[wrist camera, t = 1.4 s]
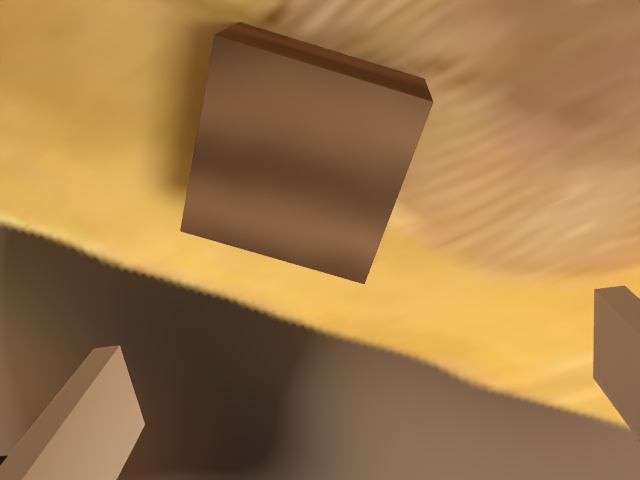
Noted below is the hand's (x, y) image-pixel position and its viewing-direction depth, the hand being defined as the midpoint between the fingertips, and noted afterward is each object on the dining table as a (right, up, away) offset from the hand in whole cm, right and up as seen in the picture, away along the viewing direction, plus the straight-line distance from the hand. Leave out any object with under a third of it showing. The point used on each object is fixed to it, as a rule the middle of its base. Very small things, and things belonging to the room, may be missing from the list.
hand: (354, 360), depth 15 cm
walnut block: (-2, +10, +22) cm, 24 cm away
